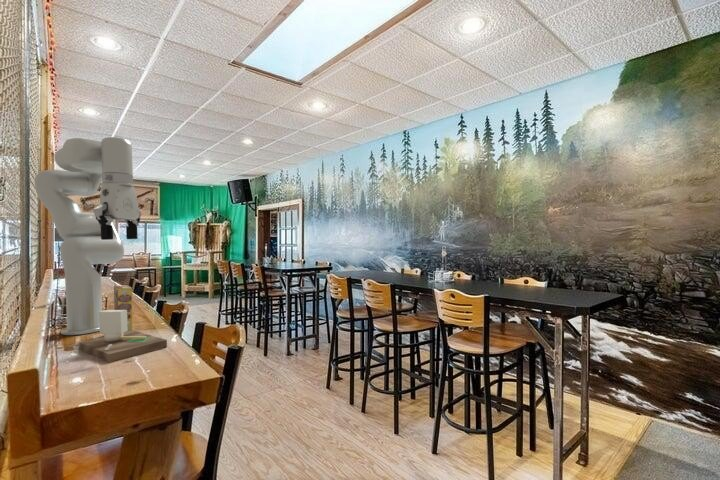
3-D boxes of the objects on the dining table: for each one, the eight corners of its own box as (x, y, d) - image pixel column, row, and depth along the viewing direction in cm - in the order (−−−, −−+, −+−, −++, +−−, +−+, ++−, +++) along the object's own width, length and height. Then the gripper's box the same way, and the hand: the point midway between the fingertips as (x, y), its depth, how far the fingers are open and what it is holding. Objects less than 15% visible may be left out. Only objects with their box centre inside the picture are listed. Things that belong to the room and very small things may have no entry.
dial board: (79, 349, 100) (79, 341, 100) (134, 336, 112) (133, 329, 112) (109, 362, 89) (108, 353, 89) (166, 346, 100) (166, 339, 100)
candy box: (134, 335, 114) (132, 287, 113) (117, 338, 111) (115, 288, 111) (130, 330, 121) (128, 284, 120) (114, 332, 118) (112, 286, 118)
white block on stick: (97, 341, 99) (96, 312, 99) (109, 337, 104) (108, 309, 103) (140, 341, 98) (139, 312, 98) (151, 336, 102) (150, 308, 102)
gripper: (106, 175, 97) (109, 239, 97) (149, 184, 114) (151, 238, 115) (80, 177, 98) (83, 240, 98) (127, 185, 115) (129, 239, 115)
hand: (120, 239), depth 106 cm, fingers open, 9 cm apart
